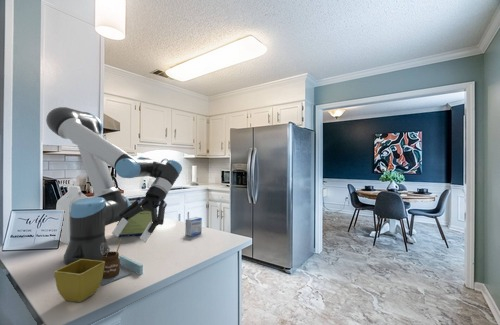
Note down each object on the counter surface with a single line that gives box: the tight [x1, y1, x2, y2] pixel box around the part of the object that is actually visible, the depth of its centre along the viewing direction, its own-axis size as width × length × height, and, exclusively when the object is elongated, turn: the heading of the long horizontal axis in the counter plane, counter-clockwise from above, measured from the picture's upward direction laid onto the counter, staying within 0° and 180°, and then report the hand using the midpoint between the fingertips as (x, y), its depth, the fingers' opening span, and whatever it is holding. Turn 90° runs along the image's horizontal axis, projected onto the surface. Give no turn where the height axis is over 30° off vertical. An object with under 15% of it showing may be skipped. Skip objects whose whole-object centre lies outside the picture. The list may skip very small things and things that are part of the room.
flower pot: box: [53, 259, 105, 303], centre depth 68 cm, size 9×9×9 cm
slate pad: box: [99, 267, 131, 287], centre depth 80 cm, size 9×9×1 cm
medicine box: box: [184, 216, 203, 237], centre depth 128 cm, size 8×4×9 cm, turn 146°
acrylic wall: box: [119, 255, 144, 275], centre depth 86 cm, size 14×1×3 cm, turn 56°
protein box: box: [118, 203, 153, 238], centre depth 127 cm, size 10×16×16 cm
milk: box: [55, 185, 89, 245], centre depth 117 cm, size 12×12×26 cm
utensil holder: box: [100, 237, 123, 278], centre depth 80 cm, size 6×6×12 cm
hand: (128, 237), depth 86 cm, fingers open, 13 cm apart
